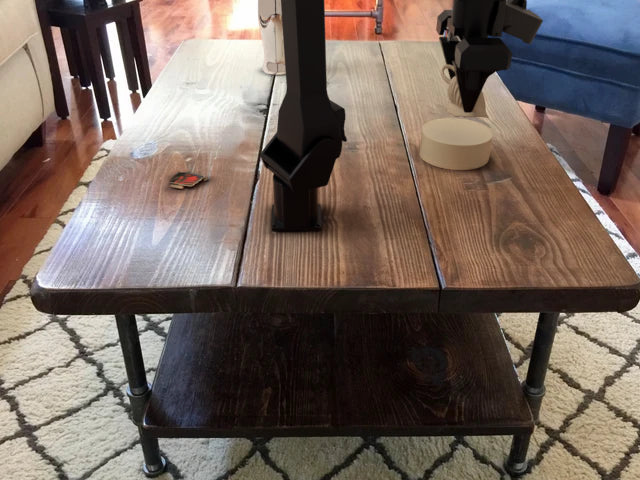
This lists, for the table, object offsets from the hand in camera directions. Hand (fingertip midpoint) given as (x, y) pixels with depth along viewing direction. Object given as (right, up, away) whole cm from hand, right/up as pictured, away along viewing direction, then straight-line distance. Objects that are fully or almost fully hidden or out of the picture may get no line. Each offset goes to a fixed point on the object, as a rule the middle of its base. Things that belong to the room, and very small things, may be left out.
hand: (462, 102), depth 89 cm
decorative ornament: (0, -1, +1) cm, 1 cm away
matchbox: (-39, -10, +4) cm, 41 cm away
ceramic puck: (+1, -4, +13) cm, 14 cm away
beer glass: (-30, +21, +46) cm, 59 cm away
